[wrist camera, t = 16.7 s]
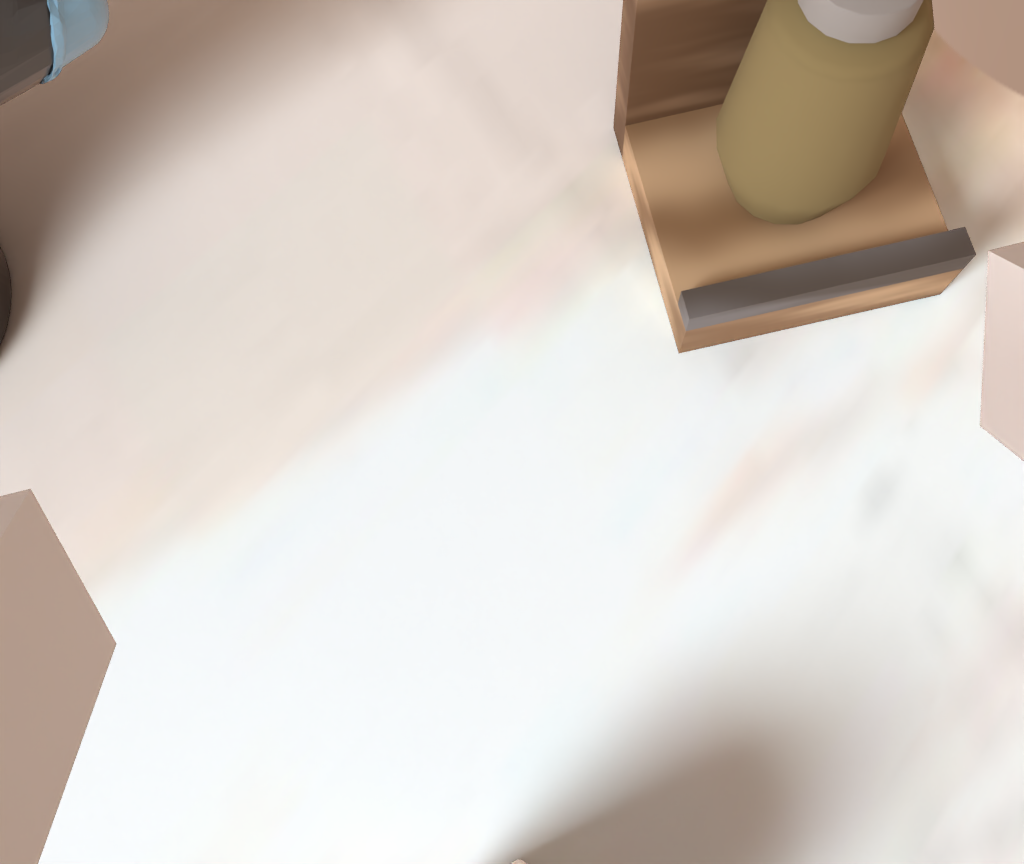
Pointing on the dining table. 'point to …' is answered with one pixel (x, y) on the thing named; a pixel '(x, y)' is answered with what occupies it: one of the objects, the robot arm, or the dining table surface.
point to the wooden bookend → (729, 226)
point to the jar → (518, 862)
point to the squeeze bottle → (818, 102)
